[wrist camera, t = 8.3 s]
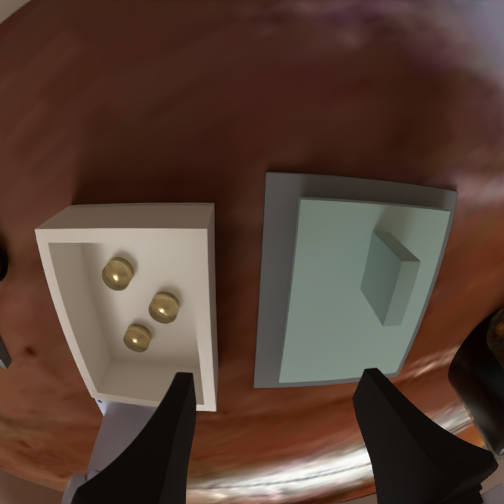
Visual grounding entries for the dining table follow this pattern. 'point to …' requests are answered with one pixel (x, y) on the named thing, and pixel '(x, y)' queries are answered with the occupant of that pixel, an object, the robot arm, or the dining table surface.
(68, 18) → the dining table surface
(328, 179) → the mat
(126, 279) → the set of gold balls
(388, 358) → the lid
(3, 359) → the black toy gun
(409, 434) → the robot arm
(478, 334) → the jar
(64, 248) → the tub
